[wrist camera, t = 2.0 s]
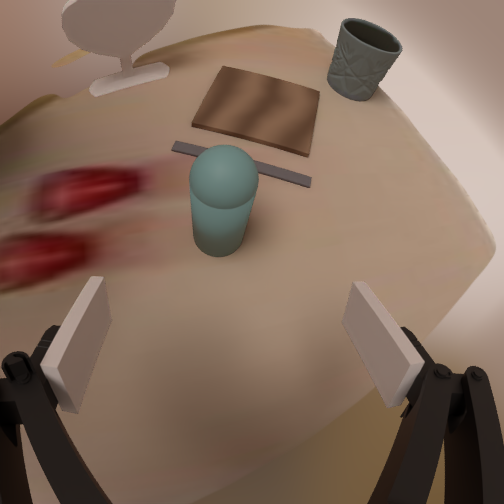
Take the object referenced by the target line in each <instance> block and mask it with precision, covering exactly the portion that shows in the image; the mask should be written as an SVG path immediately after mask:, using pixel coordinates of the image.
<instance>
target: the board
mask: <svg viewBox="0 0 504 504" xmlns="http://www.w3.org/2000/svg"><path fill="white" fill-rule="evenodd" d="M319 93H320V91H317V90H314V89H311V88H307V87H304V86H301V85H298V84H294V83H291V82H287V81H284V80H280V79H277V78H273V77H269V76H265V75H261V74H257V73H253V72H249V71H245V70H240V69H236V68H231V67H226V66H222V68H221V70H220V71H219V73H218V75H217V77H216V78H215V80H214V82H213V84H212V86H211V87H210V89H209V91H208V93H207V95H206V96H205V98H204V100H203V102H202V104H201V106H200V107H199V109H198V111H197V113H196V115H195V117H194V119H193V121H192V127H196V128H201V129H205V130H209V131H214V132H218V133H222V134H226V135H230V136H234V137H238V138H242V139H246V140H249V141H253V142H257V143H260V144H264V145H268V146H271V147H275V148H278V149H281V150H285V151H288V152H291V153H295V154H298V155H301V156H304V157H308V155H309V150H310V145H311V139H312V134H313V128H314V123H315V117H316V111H317V105H318V99H319Z"/></svg>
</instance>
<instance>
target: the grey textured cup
mask: <svg viewBox="0 0 504 504" xmlns="http://www.w3.org/2000/svg"><path fill="white" fill-rule="evenodd" d="M336 46H337V47H335V51H334V55H333V58H332V60H333V61H332V64H331V65H330V68H329V72H328V76H327V80H328V83H329V85H330V86H331V87H332V88H333V89H334V90H335V91H336V92H337V93H339V94H340V95H342V96H344V97H346V98H348V99H351V100H355V101H365V100H367V99H369V98H370V97H371V96H372V94H373V93H374V91H375V90H376V88H377V87H378V84H379V82H380V81H382V79H383V78H384V77H385V75H386V73H387V71H388V69H390V68H391V66H392V65H393V63H394V62H395V60H396V59H397V58H398V56H399V55H400V53H401V52H402V46H401V44H400V42H399V41H398V40H397V39H396V37H394V36H393V35H392V34H391V33H390V32H388V31H387V30H385V29H383V28H382V27H380V26H378V25H375V24H373V23H371V22H368V21H365V20H362V19H355V18H348V19H345V20H343V21H342V23H341V28H340V32H339V36H338V40H337V45H336Z"/></svg>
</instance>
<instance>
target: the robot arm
mask: <svg viewBox="0 0 504 504" xmlns="http://www.w3.org/2000/svg"><path fill="white" fill-rule="evenodd" d="M111 321H112V318H111V313H110V307H109V302H108V296H107V290H106V284H105V278H104V277H98V276H91V277H90V279H89V280H88V282H87V284H86V285H85V287H84V288H83V290H82V291H81V293H80V295H79V296H78V298H77V300H76V301H75V303H74V305H73V306H72V308H71V310H70V311H69V313H68V315H67V316H66V318H65V320H64V322H63V323H62V325H61V326H56V325H53V326H51V327H50V328H49V329H48V330H47V331H45V333H44V335H43V336H42V338H41V341H40V342H39V343H38V346H37V347H36V348H35V350H34V352H33V354H32V356H31V357H29V356H28V354H26V353H24V352H20V351H17V352H12V353H11V354H9V355H7V356H6V357H5V358H4V359H3V362H2V370H3V372H4V374H5V376H6V377H7V378H1V379H0V504H33V502H32V498H31V494H30V489H29V484H28V480H27V474H26V469H25V463H24V456H23V449H22V442H21V433H20V424H23V425H24V427H25V430H26V433H27V435H28V438H29V440H30V442H31V445H32V447H33V450H34V452H35V454H36V456H37V459H38V461H39V463H40V465H41V467H42V469H43V471H44V473H45V475H46V477H47V479H48V481H49V483H50V485H51V487H52V489H53V491H54V493H55V494H56V496H57V498H58V500H59V502H60V503H61V504H112V502H111V501H110V500H109V498H108V497H107V495H106V494H105V493H104V491H103V490H102V488H101V487H100V485H99V484H98V482H97V481H96V479H95V478H94V476H93V475H92V473H91V472H90V470H89V469H88V467H87V466H86V464H85V462H84V461H83V459H82V457H81V456H80V454H79V452H78V451H77V449H76V447H75V445H74V444H73V442H72V440H71V438H70V436H69V435H68V433H67V431H66V429H65V427H64V425H63V423H62V421H61V419H60V417H59V415H58V413H57V412H56V410H55V409H56V407H57V404H58V403H59V405H60V407H61V409H62V411H66V412H71V413H77V414H78V413H79V410H80V407H81V404H82V400H83V397H84V394H85V391H86V388H87V385H88V383H89V380H90V377H91V374H92V371H93V368H94V366H95V363H96V360H97V357H98V355H99V352H100V349H101V347H102V344H103V341H104V339H105V336H106V334H107V331H108V329H109V326H110V324H111ZM342 324H343V325H344V327H345V329H346V331H347V333H348V335H349V336H350V338H351V340H352V342H353V344H354V346H355V348H356V349H357V351H358V353H359V355H360V357H361V359H362V361H363V363H364V364H365V366H366V368H367V370H368V372H369V374H370V376H371V378H372V380H373V382H374V384H375V386H376V387H377V389H378V391H379V393H380V395H381V397H382V399H383V401H384V403H385V405H386V407H387V408H390V407H394V406H399V405H401V404H402V402H403V401H404V399H405V397H407V399H408V401H409V404H408V405H407V407H406V408H405V410H404V412H403V413H402V415H401V416H400V417H403V419H402V422H401V425H400V427H399V430H398V433H397V436H396V439H395V441H394V444H393V447H392V449H391V452H390V454H389V457H388V459H387V462H386V464H385V466H384V469H383V471H382V473H381V476H380V478H379V480H378V482H377V485H376V487H375V489H374V491H373V493H372V496H371V497H370V500H369V502H368V503H367V504H426V502H427V499H428V496H429V492H430V489H431V486H432V483H433V479H434V476H435V472H436V468H437V464H438V460H439V456H440V452H441V448H442V444H443V439H444V451H445V499H444V500H445V501H444V504H504V444H503V439H502V434H501V428H500V423H499V419H498V414H497V410H496V405H495V402H494V397H493V394H492V390H491V386H490V383H489V379H488V376H487V374H486V373H485V371H484V370H483V369H481V368H479V367H476V366H470V367H468V368H467V370H466V371H465V373H464V374H455V373H452V371H451V370H450V369H449V368H448V367H446V366H444V365H442V364H435V363H434V361H433V360H432V358H431V357H430V356H429V354H428V353H427V352H426V350H425V349H424V347H423V346H421V343H420V342H419V341H417V338H416V337H415V335H414V334H413V333H412V332H411V331H410V330H408V329H407V328H405V327H399V326H398V324H397V323H396V321H395V320H394V319H393V317H392V316H391V315H390V313H389V312H388V311H387V310H386V308H385V307H384V306H383V304H382V303H381V302H380V300H379V299H378V298H377V296H376V295H375V294H374V293H373V291H372V290H371V289H370V287H369V286H368V285H367V284H366V282H352V286H351V290H350V294H349V298H348V302H347V305H346V309H345V313H344V316H343V320H342Z"/></svg>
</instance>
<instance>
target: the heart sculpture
mask: <svg viewBox="0 0 504 504" xmlns="http://www.w3.org/2000/svg"><path fill="white" fill-rule="evenodd" d="M175 2H176V0H68V1H67V2H66V4H65V5H64V7H63V11H62V28H63V30H64V32H65V33H66V36H67V38H68V39H69V41H70V42H72V43H73V44H75V45H76V46H78V47H79V48H81V49H82V50H85V51H88V52H92V53H95V54H99V55H106V56H112V57H118V58H120V61H121V67H122V72H119V73H115V74H112V75H108V76H106V77H102V78H99V79H96V80H94V81H93V83H92V84H91V86H90V89H89V91H90V93H91V94H92V95H93V96H95V97H98V96H101V95H104V94H108V93H111V92H114V91H117V90H121V89H124V88H128V87H131V86H135V85H138V84H142V83H146V82H150V81H154V80H158V79H162V78H166V77H167V75H168V73H169V69H170V68H169V67H168V66H167V65H166V64H164V63H162V62H157V63H152V64H148V65H144V66H140V67H136V68H133V67H132V61H131V54H133V53H134V52H135V51H136V50H138V49H139V48H140V47H142V46H143V45H144V44H146V43H147V42H149V41H150V40H151V39H152V38H153V37H154V36H155V35H156V34H157V33H159V32H160V31H161V30H162V29H163V27H164V26H165V25H166V23H167V22H168V20H169V19H170V17H171V16H172V14H173V12H174V7H175Z"/></svg>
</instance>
